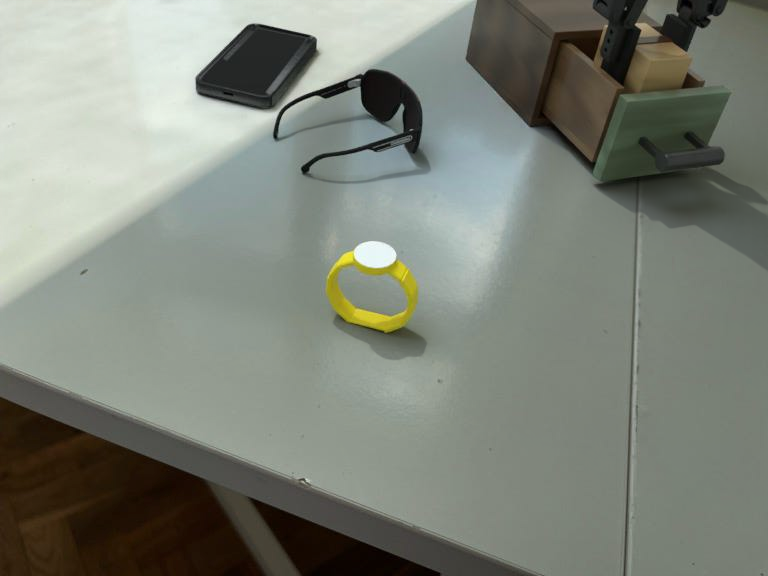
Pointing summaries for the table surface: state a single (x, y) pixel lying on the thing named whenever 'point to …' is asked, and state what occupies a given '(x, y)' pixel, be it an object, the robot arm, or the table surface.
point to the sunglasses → (374, 110)
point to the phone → (257, 65)
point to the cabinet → (529, 45)
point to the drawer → (631, 117)
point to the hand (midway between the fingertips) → (630, 90)
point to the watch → (373, 262)
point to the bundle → (653, 63)
